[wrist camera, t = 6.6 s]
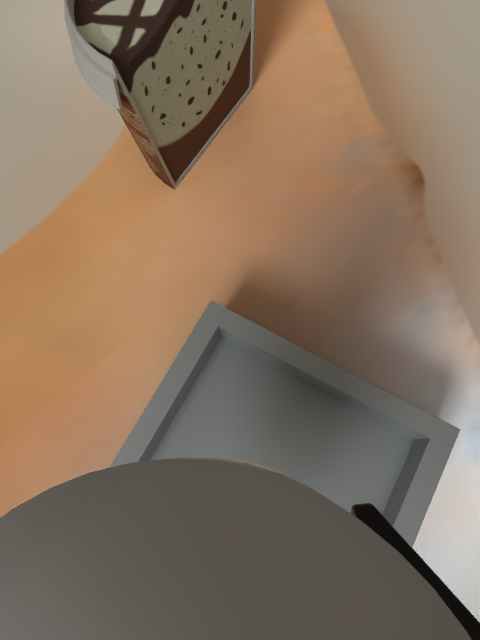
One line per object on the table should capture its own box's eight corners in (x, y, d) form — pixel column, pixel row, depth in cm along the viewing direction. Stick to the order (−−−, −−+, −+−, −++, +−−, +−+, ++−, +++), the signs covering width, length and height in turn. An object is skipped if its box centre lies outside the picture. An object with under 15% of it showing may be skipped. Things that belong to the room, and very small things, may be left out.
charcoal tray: (291, 769, 18) (297, 829, 15) (52, 594, 20) (18, 618, 18) (433, 431, 22) (460, 429, 19) (217, 317, 24) (211, 300, 21)
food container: (191, 40, 30) (159, -147, 21) (264, 73, 29) (265, -110, 20) (86, 165, 28) (-7, 16, 18) (161, 207, 26) (103, 71, 17)
